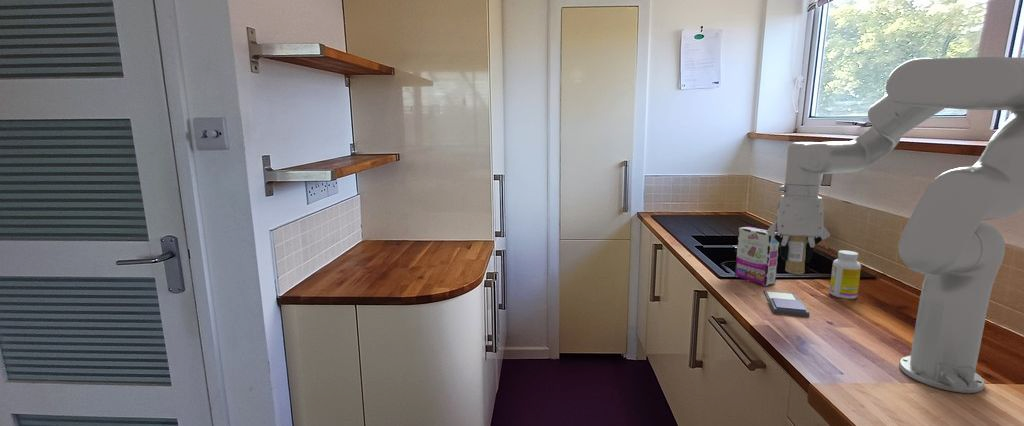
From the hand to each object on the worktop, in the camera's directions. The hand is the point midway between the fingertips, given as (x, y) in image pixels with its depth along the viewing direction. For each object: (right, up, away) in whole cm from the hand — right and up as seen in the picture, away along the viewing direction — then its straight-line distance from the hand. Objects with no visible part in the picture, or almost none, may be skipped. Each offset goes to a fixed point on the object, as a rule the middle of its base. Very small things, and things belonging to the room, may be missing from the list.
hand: (795, 259), depth 125 cm
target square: (+3, -12, +12) cm, 17 cm away
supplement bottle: (+21, -12, +13) cm, 27 cm away
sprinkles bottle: (0, -3, +1) cm, 3 cm away
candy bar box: (+3, -9, +26) cm, 28 cm away
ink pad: (0, -14, +3) cm, 14 cm away
